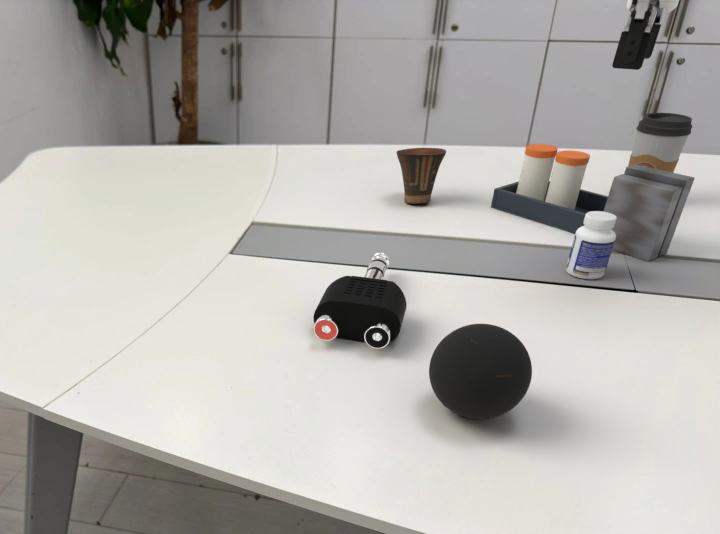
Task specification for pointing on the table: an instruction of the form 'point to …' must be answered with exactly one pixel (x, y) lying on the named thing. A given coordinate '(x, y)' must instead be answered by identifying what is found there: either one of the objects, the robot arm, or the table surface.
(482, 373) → the speaker
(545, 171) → the white bottles
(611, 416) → the table surface
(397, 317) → the audio adapter
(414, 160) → the cup
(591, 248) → the pill bottle
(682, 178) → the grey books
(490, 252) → the table surface
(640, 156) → the coffee cup
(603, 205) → the tray
